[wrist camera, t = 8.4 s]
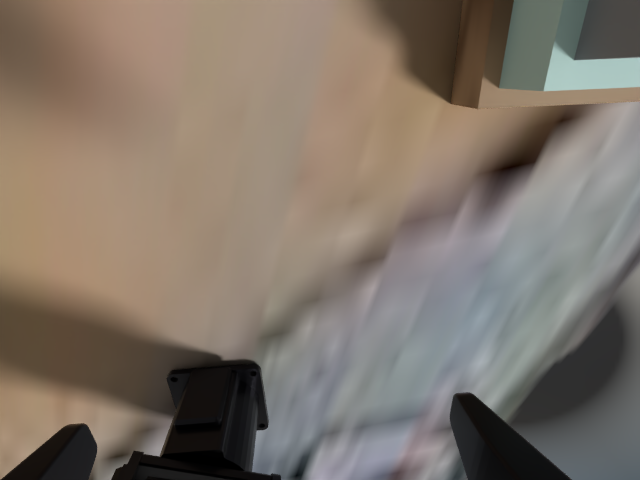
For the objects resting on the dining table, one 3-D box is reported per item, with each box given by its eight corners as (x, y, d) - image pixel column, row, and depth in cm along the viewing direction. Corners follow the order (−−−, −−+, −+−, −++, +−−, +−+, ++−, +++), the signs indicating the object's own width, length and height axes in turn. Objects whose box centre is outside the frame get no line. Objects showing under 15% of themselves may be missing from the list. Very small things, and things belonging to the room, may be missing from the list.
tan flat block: (598, 97, 18) (650, 101, 16) (450, 103, 18) (477, 108, 15) (656, -103, 15) (735, -143, 12) (474, -100, 15) (515, -139, 12)
